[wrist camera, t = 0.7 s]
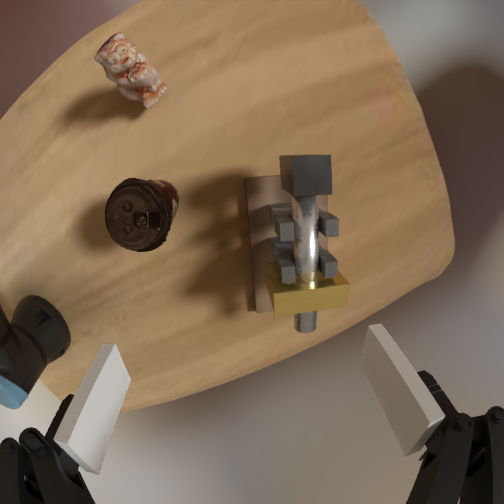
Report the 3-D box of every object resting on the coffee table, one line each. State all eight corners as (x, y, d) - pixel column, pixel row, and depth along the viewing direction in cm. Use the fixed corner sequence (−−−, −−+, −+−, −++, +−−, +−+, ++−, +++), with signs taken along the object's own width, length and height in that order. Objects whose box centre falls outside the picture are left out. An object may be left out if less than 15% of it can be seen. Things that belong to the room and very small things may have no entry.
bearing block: (255, 308, 47) (264, 358, 35) (245, 177, 39) (251, 187, 27) (323, 300, 48) (348, 344, 35) (323, 173, 40) (360, 182, 28)
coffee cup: (199, 198, 40) (185, 217, 28) (165, 238, 42) (141, 272, 30) (156, 161, 38) (124, 165, 25) (125, 203, 39) (86, 224, 27)
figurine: (156, 115, 35) (117, 96, 21) (121, 92, 33) (72, 69, 19) (181, 83, 34) (156, 48, 20) (145, 61, 32) (108, 24, 18)
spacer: (265, 282, 40) (274, 316, 31) (264, 263, 39) (273, 293, 30) (325, 275, 40) (347, 305, 32) (325, 256, 39) (349, 283, 30)
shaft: (286, 314, 39) (296, 344, 33) (279, 155, 32) (291, 155, 25) (312, 311, 39) (326, 339, 33) (311, 154, 32) (330, 155, 25)
